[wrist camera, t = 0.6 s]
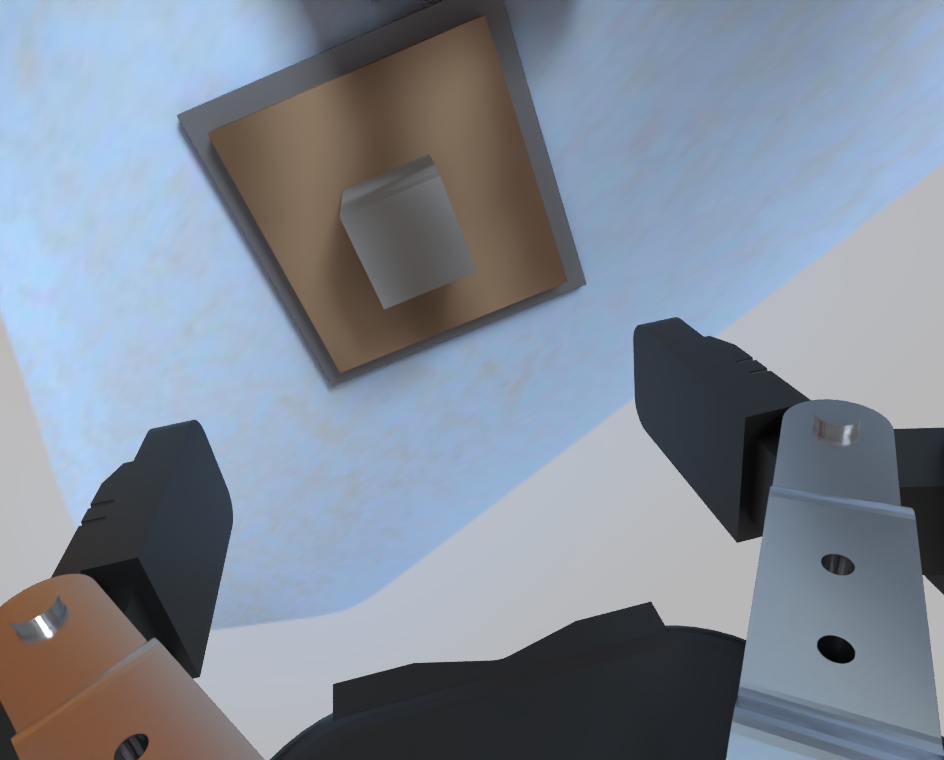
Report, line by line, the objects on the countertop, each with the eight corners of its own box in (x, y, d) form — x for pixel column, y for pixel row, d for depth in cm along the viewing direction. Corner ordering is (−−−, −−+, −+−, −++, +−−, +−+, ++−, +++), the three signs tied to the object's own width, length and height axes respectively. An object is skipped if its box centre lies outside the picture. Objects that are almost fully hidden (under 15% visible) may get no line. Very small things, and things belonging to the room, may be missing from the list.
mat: (493, -22, 26) (496, -23, 26) (582, 280, 33) (586, 284, 33) (180, 113, 27) (176, 115, 26) (332, 380, 34) (331, 386, 34)
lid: (481, 14, 26) (507, 14, 22) (562, 274, 32) (596, 318, 28) (212, 130, 27) (179, 154, 22) (340, 363, 33) (337, 422, 28)
